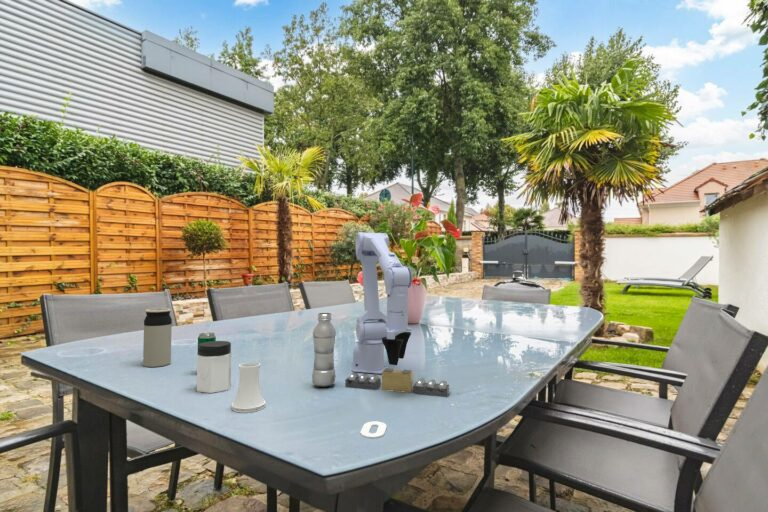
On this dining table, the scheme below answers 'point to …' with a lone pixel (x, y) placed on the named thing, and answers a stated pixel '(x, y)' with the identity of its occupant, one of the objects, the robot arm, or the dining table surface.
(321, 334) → the plastic bottle
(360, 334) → the robot arm
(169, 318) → the travel mug
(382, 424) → the chain link
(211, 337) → the soda can
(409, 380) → the gold block
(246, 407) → the vase
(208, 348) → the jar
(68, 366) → the dining table surface
